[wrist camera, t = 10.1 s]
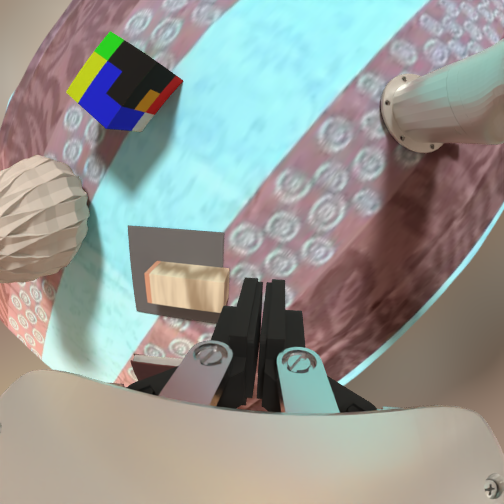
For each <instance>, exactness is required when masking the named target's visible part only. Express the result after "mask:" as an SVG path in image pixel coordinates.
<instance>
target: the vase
mask: <svg viewBox="0 0 504 504" xmlns="http://www.w3.org/2000/svg"><path fill="white" fill-rule="evenodd" d="M87 199H88V197H87V193H86V192H85V191H83V189H82V182H81V179H80V178H79V176H76V175H74V174H73V171H72V169H71V168H70V167H69V166H68V165H67V164H65V163H62V162H59V161H55V160H52V159H50V158H47V157H43V156H40V155H34V156H32V157H31V158H29V159H24V160H22V161H20V162H18V163H16V164H15V165H13V166H12V167H10V168H7V169H4V170H1V171H0V283H13V282H23V283H24V282H28V281H33V280H35V279H37V278H39V277H41V276H47V275H52V274H55V273H57V272H58V271H59V270H60V269H61V268H63V267H67V265H68V264H69V263H70V262H71V260H72V259H73V258H74V256H75V255H76V253H77V252H78V250H79V249H80V246H81V244H82V241H83V240H84V238H85V237H86V234H87V231H88V226H87V219H88V217H90V215H89V213H90V211H89V209H88V206H87V205H86V202H87Z"/></svg>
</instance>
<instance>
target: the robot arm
mask: <svg viewBox="0 0 504 504" xmlns="http://www.w3.org/2000/svg"><path fill="white" fill-rule="evenodd" d="M402 79H403V80H402ZM385 102H386V103H387V105H386V104H385ZM381 113H382V117H383V120H384V123H385V125H386V127H387V129H388V131H389V132H390V134H391V135H392V136H393V138H394V139H395V140H396V141H397V142H398V143H399V144H401V145H402V146H403V147H405V148H407V149H408V150H411V151H414V152H419V153H429V152H433V151H435V150H437V149H439V148H440V147H441V146H442V145H443V144H444V143H465V144H484V145H485V144H486V145H498V144H502V143H504V38H503V39H502V40H500V41H499V42H497V43H496V44H494V45H492V46H491V47H489V48H487V49H485V50H483V51H481V52H479V53H476V54H474V55H472V56H470V57H467V58H465V59H462V60H459V61H457V62H454V63H452V64H449V65H447V66H445V67H442V68H440V69H437V70H435V71H433V72H430V73H428V74H426V75H424V76H419V75H415V74H402V75H399V76H397V77H395V78H393V79H392V80H390V81H389V82H388V84H387V85H386V86H385V88H384V90H383V93H382V96H381ZM400 137H401V139H400ZM430 146H431V147H430ZM262 290H263V282H258V278H245V279H244V283H243V286H242V290H241V293H240V297H239V300H238V304H237V307H233V306H223V308H222V311H221V314H220V316H219V319H218V322H217V325H216V327H215V330H214V333H213V336H212V339H211V340H210V341H203V342H199V343H197V344H196V345H194V346H193V347H192V348H191V349H190V350H189V352H188V353H187V355H186V356H185V358H184V359H183V360H182V362H181V363H180V365H179V366H177V367H174V368H172V369H169V370H167V371H164V372H161V373H159V374H156V375H154V376H151V377H148V378H146V379H143V380H140V381H137V382H135V383H133V384H131V385H129V386H128V387H124V384H117V383H106V382H103V381H99V380H96V379H92V378H89V377H85V376H82V375H79V374H74V373H70V372H66V371H59V370H34V371H30V372H27V373H25V374H24V375H22V376H21V377H19V378H18V379H17V380H16V381H15V382H13V383H12V384H11V385H10V387H8V389H6V391H5V392H4V393H3V394H2V395H1V396H0V504H504V454H503V452H502V449H501V447H500V445H499V443H498V441H497V439H496V437H495V435H494V433H493V432H492V430H491V428H490V427H489V425H488V424H487V422H486V421H485V420H484V419H483V418H482V417H481V416H480V415H479V414H478V413H476V412H475V411H473V410H470V409H467V408H463V407H456V406H449V405H447V406H446V405H430V406H417V407H409V408H397V407H382V409H377V408H376V407H375V406H374V405H373V404H371V403H370V402H369V401H367V400H365V399H364V398H362V397H360V396H359V395H357V394H355V393H354V392H352V391H350V390H349V389H347V388H346V387H344V386H342V385H341V384H339V383H338V382H336V381H335V380H333V379H331V378H330V377H328V376H327V375H326V372H325V369H324V366H323V364H322V361H321V359H320V357H319V355H318V354H317V353H315V352H314V351H312V350H310V349H308V348H305V338H304V327H303V316H302V311H293V310H285V280H275V279H272V283H268V282H267V285H266V293H265V301H264V310H263V318H262V326H261V311H262ZM260 332H261V334H260ZM259 343H260V347H259ZM258 351H259V366H258V384H257V398H258V399H262V407H264V408H265V409H266V410H267V411H269V412H266V411H253V410H242V409H236V408H237V407H239V406H241V405H246V400H247V398H252V396H253V389H254V381H255V374H256V366H257V359H258Z"/></svg>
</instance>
